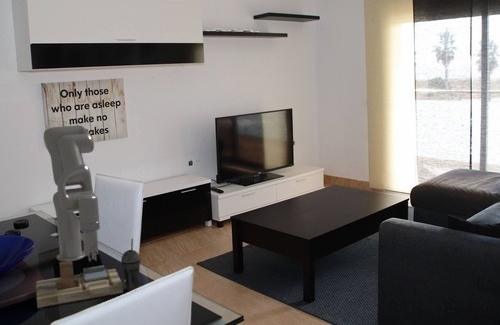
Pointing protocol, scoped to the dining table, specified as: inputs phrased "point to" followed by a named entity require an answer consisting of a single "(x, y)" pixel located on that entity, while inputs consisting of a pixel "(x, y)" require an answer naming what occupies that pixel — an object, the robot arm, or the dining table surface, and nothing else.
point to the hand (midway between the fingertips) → (93, 269)
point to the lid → (94, 273)
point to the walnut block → (66, 274)
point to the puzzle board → (77, 289)
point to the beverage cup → (131, 268)
